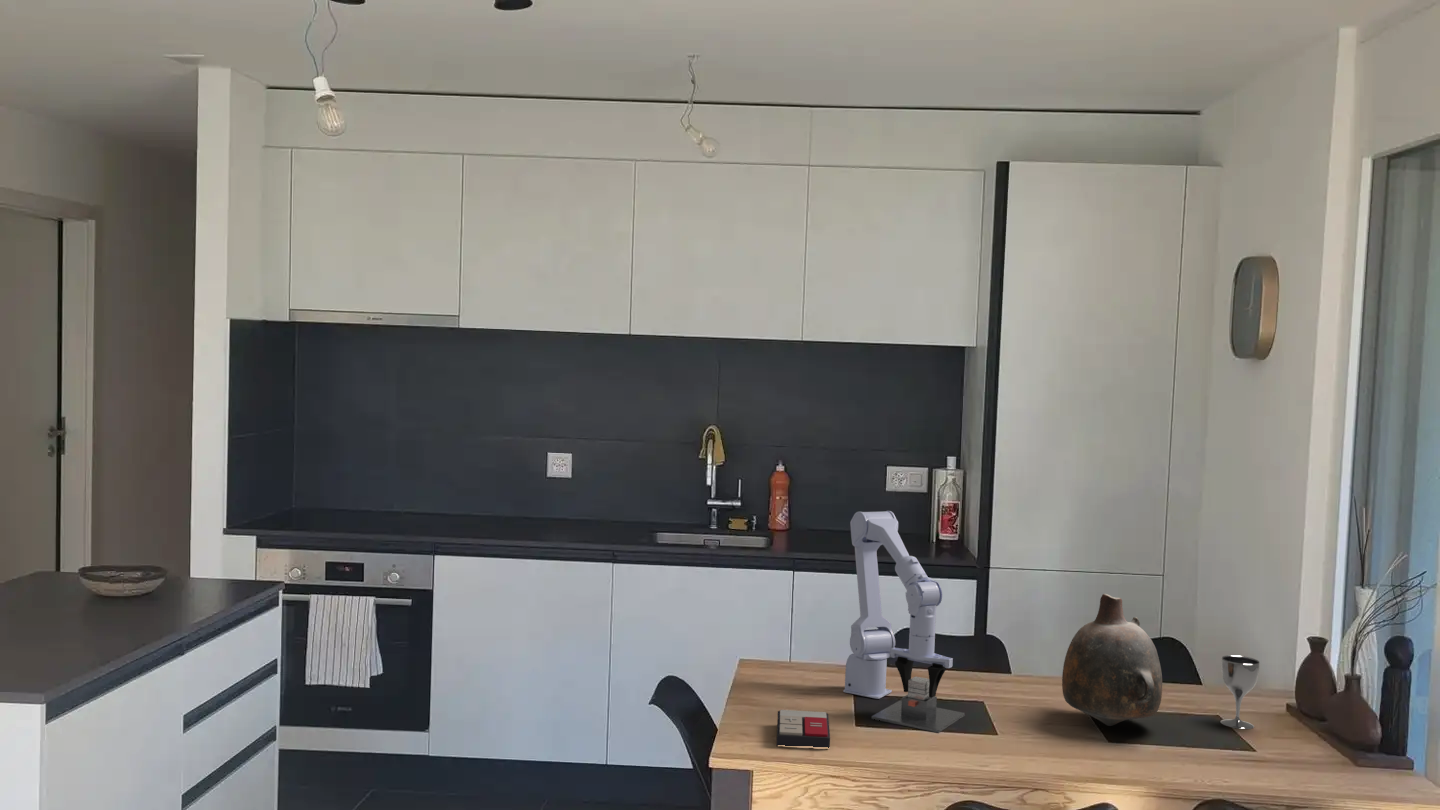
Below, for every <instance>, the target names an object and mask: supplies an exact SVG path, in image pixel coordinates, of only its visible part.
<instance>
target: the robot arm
mask: <svg viewBox="0 0 1440 810" xmlns="http://www.w3.org/2000/svg"><path fill="white" fill-rule="evenodd" d="M849 524H850V537H851V544H852V546H853V547H854V557H855V566H856V567H855V568H856V569H855V570H856V579H857V590H858V591H857V592H858V605H859V615H860V616H859V617H858V618H857V620H855V621H854V622H853V623H852V624H851V626H850V637H849V645H850V646H849V647H850V650H851V652H852V653H851V654H849V656H848V657H847V659H846V663H845V671H844V672H845V673H844V676H845V677H844V689H843V693H847V694H852V695H856V696H861V697H866V698H872V699H876V700H878V699H879V700H880V699H881V698H883V697H885V696H887V695H889V694H890V693H892V690H893V689H888V688H886V684H887V683H886V682H887V662H888V661H887V660H888V659H889V658H893V659H895V658H896V660H895V661H894V664H895V666H896V669H897V672H898V674H899V675H900V679H901V683H902V688H903V692H904V693H908V680H910V679H912V673H913V666H914V662H919V663H923V664H929V665H930V666H928V667H927V672H928V679H929V697H934V696H936V694H937V691H938V687H939V684H940V683H941V679H942V678H943V676H944V673H945V671H946V670H947V669H950V668H952V667H953V659H954V658H953V657H948V656H945V655H941V654H938V653H935V644H936V643H935V639H936V622H937V621H936V620H937V607H938V606H940V604H941V603H942V600H943V590H942V587H941V585H940V583H939V581H937V580H934V579H933V578H932V577H928V575H927V573H926V572H925V569H924V568H923V567H922V565H921V564H920V561H919V560H918V559H917V557H916V556H913V555H910V554H909V552H908V550H907V548H906V546H905V543H904V542H903V540H902V538H901V535H900V534H899V532H898V531H899V521H898V519H897V517H896V516H895V513H894V512H893V511H891V510H886V511H856V512H855V513H854V514H853V516H852V518H851V520H850V523H849ZM881 546H883V547H884V549H886V551H887V553H888V554H889V555H890V556H891V558H892V559H893V561H894V562H895V566H894V571H895V573H896V575H897V576H898V577H899V579H900V581H901V582H902V583H901V584H903V586H904V588H905V589H906V592H905V599H906V603H907V611H908V614H910V616H909V634H908V635H909V637H908V638H909V639H908V648H899V647H895V646H896V638H895V634H894V633H893V629H892V623H891V622H890V621H889V620H888V619H887V618H886V617H884V616H883V611H882V600H881V599H882V598H881V589H880V588H881V587H880V578H879V577H880V575H879V565H878V556H877V555H878V554H877V551H878V549H880V547H881ZM868 628H875V629H868ZM936 697H937V696H936Z"/></svg>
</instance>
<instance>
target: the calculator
mask: <svg viewBox="0 0 1440 810" xmlns="http://www.w3.org/2000/svg"><path fill="white" fill-rule="evenodd" d="M829 719H830V718H829V714H828V712H826V711H809V710H794V709H793V710H792V709H791V710H790V709H780V710H778V711H777V719H776V720H777V725H776V726H777V727H776V728H777V729H776V746H777V745H785V746H813V747H828V748H829V747H830V748H831V732H830V720H829Z"/></svg>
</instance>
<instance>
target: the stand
mask: <svg viewBox="0 0 1440 810" xmlns="http://www.w3.org/2000/svg"><path fill="white" fill-rule="evenodd" d="M937 700H938V697H937V696H934V697H931V698H930V699H929V700H927V701H920V700H915V699H910V698H908V694H906V695H904V696H902V697H901V699H900V700H898V701H896V702H895V703H893V704H891V705H889V706H887V707H885V708H884V709H882V710H880V711H879V712H876V713H874V714H873V715H871V720H874V719H875V720H874V721H879V720H880V722H884V723H888V724H895V725H899V726H905V727H908V728H914V729H919V730H923V731H928V732H932V733H938V734H939V733H941V732H942V731H944V730H945V729H947V728H948V727H950V726H951V725H953V724H954V723H956V722H958V721H959V720H960V719H962V718H963V717H965V716H966V714H965V712H962V711H956V710H952V709H946V708H941V707H937Z"/></svg>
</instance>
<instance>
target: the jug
mask: <svg viewBox="0 0 1440 810" xmlns="http://www.w3.org/2000/svg"><path fill="white" fill-rule="evenodd" d="M1140 625H1141V623H1140V620H1139V618H1138V617H1137V616H1135V617H1133V618H1132V620H1131V621H1127V620H1126V618H1125V615H1124V610H1123V599H1122V598H1121V597H1114V596H1111V595H1110V594H1107V593H1102V595H1101V596H1100V599H1099V607H1098V611H1097V614H1096V617H1095V619H1094V620H1092V621H1090V622H1087V623H1085V624H1084V625H1083V626H1081V628H1079V629H1078V630H1077V631H1076V633H1075V634H1074V636H1073V637H1072V639H1071V641H1070V643H1069V645H1068V648H1067V650H1066V653H1065V657H1064V662H1063V666H1062V667H1063V668H1062V675H1061V676H1062V677H1061V680H1062V681H1061V682H1062V683H1061V687H1062V689H1061V690H1062V694H1063V695H1062V696H1063V698H1064V700H1065V702H1066V703H1067V704H1068V705H1069V706H1070V707H1072V708H1074V709H1075V710H1077V711H1080V712H1082V713H1084V714H1086V715H1087V716H1088V715H1089V716H1090V717H1092V718H1094V719H1097V720H1098V721H1099V722H1101V723H1102V724H1104V725H1106V726H1108V727H1111V726H1115V725H1117V724H1119V723H1121V722H1124V721H1128V720H1136V719H1145V718H1149V717H1153V716H1154V715H1156V714H1157V712H1158V710H1159V709H1160V707H1161V703H1162V698H1163V697H1162V696H1163V675H1162V667H1161V663H1160V659H1159V658H1160V657H1159V655H1158V651H1157V648H1156V646H1155V645H1156V644H1154V642H1153V640H1152V638H1151V637H1150V636H1149V634H1147V632H1146V631H1145V630H1144V629H1143V628H1142V627H1140Z"/></svg>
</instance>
